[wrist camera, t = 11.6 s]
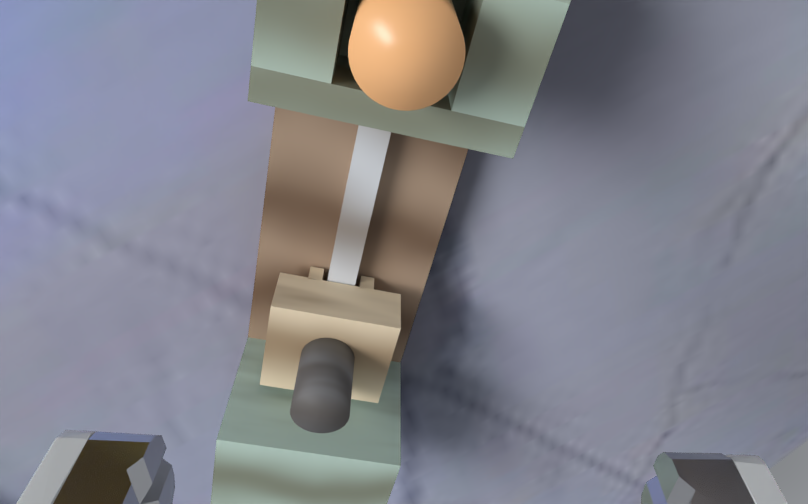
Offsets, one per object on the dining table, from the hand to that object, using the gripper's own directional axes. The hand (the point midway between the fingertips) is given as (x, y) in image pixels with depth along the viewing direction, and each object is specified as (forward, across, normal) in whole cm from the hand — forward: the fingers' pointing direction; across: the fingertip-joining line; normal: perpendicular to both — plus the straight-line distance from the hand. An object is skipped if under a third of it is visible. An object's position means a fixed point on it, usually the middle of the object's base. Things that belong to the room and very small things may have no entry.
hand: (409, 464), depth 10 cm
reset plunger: (+16, 0, -3) cm, 17 cm away
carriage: (+22, +4, +16) cm, 27 cm away
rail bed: (+24, +3, +10) cm, 27 cm away
